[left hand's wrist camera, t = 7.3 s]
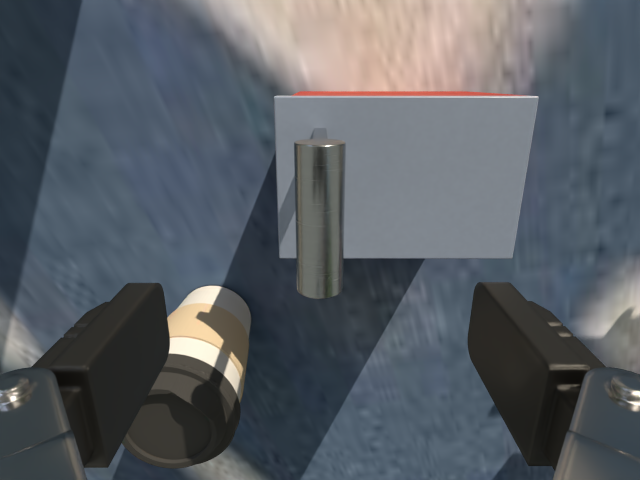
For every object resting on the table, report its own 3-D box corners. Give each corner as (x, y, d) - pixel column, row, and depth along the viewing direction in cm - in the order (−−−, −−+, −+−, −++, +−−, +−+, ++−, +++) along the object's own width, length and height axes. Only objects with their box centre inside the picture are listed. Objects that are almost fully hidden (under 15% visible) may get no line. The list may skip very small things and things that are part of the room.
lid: (280, 251, 28) (262, 329, 19) (275, 95, 25) (250, 103, 16) (504, 251, 28) (589, 330, 19) (529, 95, 25) (645, 103, 16)
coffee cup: (221, 372, 44) (176, 507, 30) (150, 318, 42) (65, 436, 28) (281, 316, 42) (262, 434, 28) (209, 256, 40) (149, 351, 26)
